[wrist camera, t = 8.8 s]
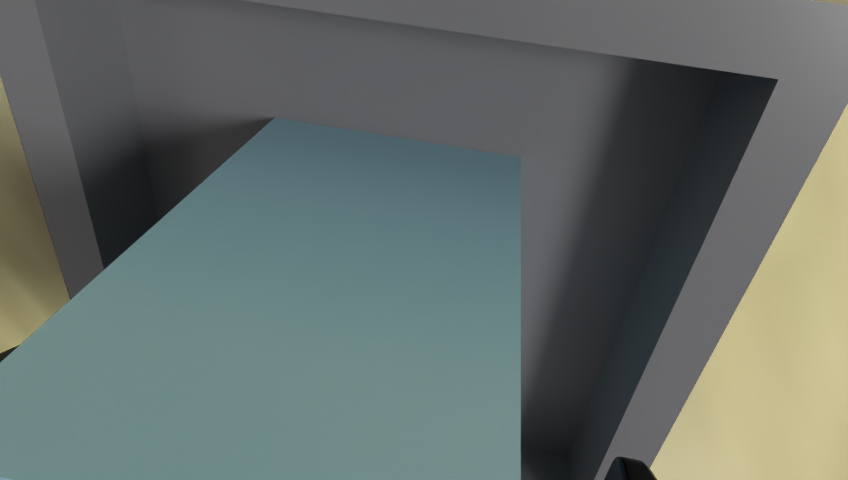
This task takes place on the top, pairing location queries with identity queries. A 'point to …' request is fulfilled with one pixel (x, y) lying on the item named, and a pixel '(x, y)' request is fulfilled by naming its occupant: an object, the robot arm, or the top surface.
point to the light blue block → (292, 326)
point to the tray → (478, 130)
